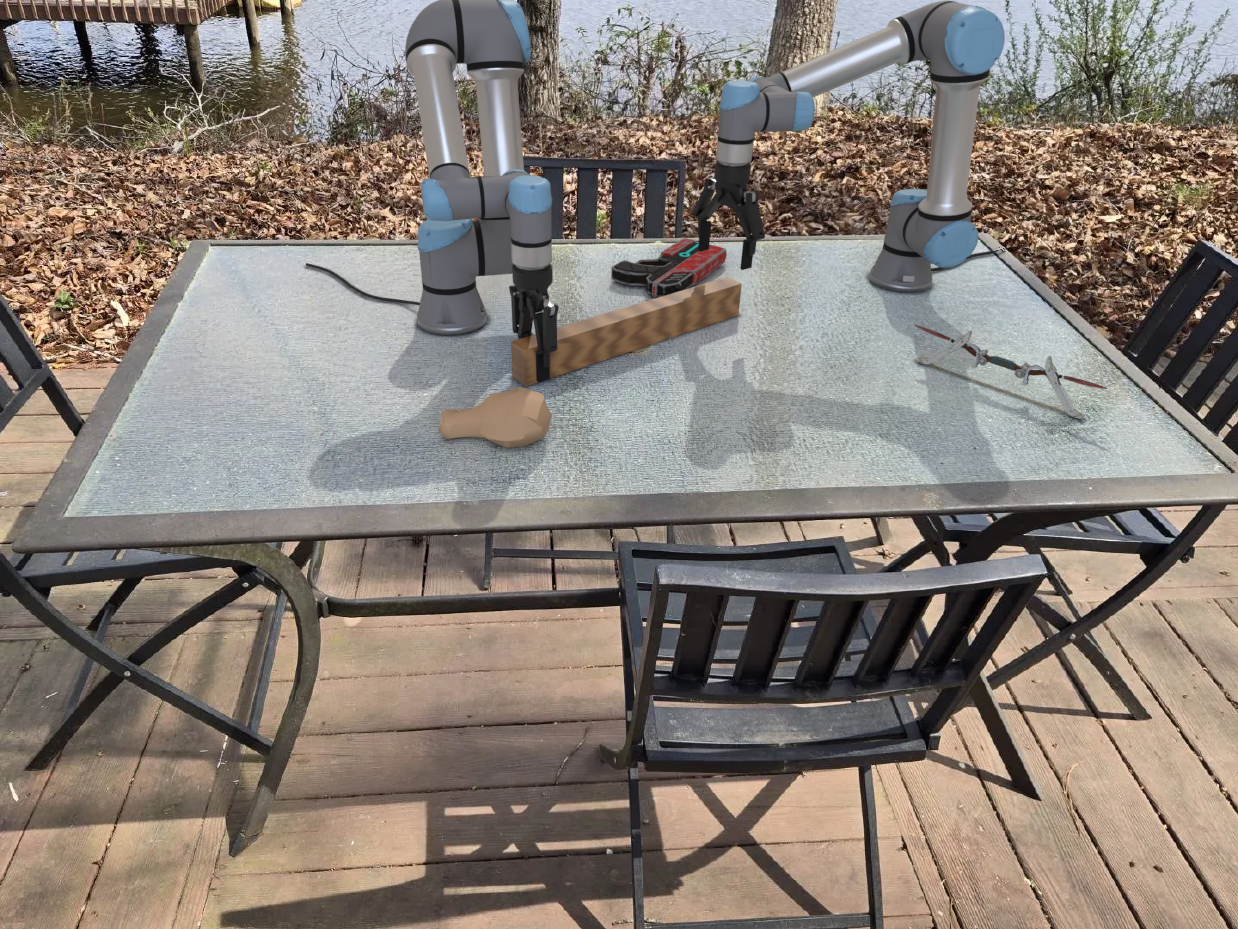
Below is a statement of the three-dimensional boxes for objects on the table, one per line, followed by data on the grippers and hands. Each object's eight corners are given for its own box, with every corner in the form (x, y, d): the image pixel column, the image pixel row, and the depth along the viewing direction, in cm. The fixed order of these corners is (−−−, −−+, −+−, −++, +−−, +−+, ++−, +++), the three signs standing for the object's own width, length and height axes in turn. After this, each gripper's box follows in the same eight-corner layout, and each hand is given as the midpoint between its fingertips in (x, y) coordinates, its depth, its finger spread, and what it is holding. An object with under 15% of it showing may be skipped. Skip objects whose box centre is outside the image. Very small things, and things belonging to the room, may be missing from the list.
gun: (605, 267, 214) (675, 286, 206) (666, 230, 236) (731, 246, 228) (605, 285, 217) (674, 304, 209) (664, 246, 239) (729, 263, 231)
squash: (553, 454, 153) (544, 415, 147) (441, 463, 154) (428, 425, 148) (556, 414, 161) (548, 375, 154) (450, 422, 162) (438, 384, 156)
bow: (1096, 421, 167) (1113, 374, 161) (1092, 425, 165) (1110, 378, 160) (909, 355, 188) (919, 312, 182) (905, 358, 187) (915, 315, 181)
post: (525, 386, 173) (524, 350, 168) (512, 377, 176) (510, 341, 172) (738, 315, 204) (741, 283, 199) (724, 308, 207) (727, 276, 202)
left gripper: (576, 273, 159) (576, 386, 172) (522, 245, 171) (526, 353, 184) (542, 282, 156) (545, 397, 168) (489, 253, 167) (496, 362, 180)
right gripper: (789, 172, 178) (776, 272, 189) (706, 146, 194) (698, 239, 205) (764, 178, 174) (752, 280, 185) (680, 151, 190) (674, 246, 201)
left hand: (535, 374), depth 176 cm, fingers closed on post, 5 cm apart
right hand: (724, 259), depth 195 cm, fingers open, 13 cm apart
